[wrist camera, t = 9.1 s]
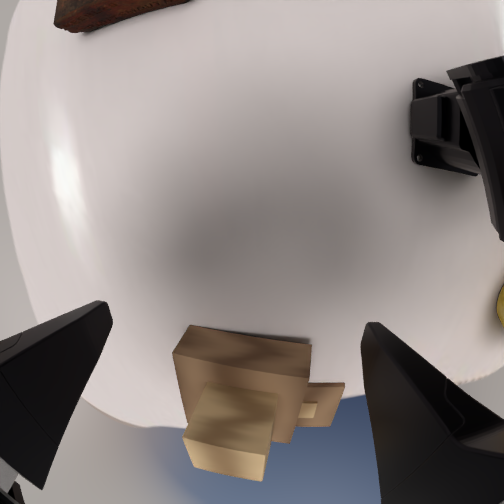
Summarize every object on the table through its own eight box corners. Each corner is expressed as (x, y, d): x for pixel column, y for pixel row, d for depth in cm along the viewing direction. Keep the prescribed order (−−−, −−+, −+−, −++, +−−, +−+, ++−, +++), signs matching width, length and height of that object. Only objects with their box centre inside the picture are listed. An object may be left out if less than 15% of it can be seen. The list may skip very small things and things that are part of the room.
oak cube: (278, 393, 21) (265, 455, 15) (273, 429, 23) (262, 481, 18) (207, 381, 22) (182, 437, 17) (213, 418, 24) (194, 467, 19)
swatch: (344, 382, 26) (345, 389, 25) (329, 422, 29) (330, 428, 28) (267, 381, 27) (266, 387, 26) (264, 421, 30) (264, 426, 29)
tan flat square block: (311, 344, 23) (309, 378, 20) (294, 414, 28) (289, 443, 24) (190, 324, 25) (172, 352, 21) (199, 396, 29) (187, 422, 26)
